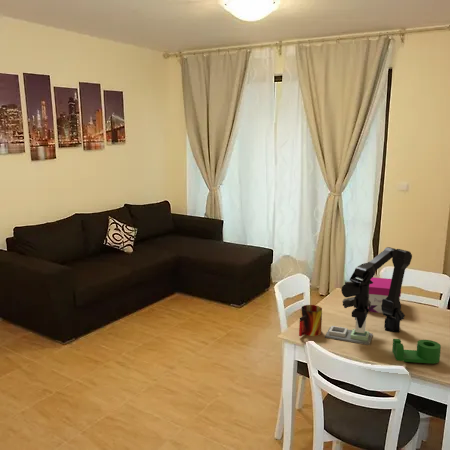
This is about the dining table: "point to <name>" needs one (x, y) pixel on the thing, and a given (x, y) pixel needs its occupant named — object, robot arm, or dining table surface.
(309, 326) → the mug
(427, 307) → the dining table surface
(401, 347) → the green bracket
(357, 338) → the panel
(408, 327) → the dining table surface
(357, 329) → the plug
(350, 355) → the dining table surface
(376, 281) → the decorative box
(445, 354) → the dining table surface
